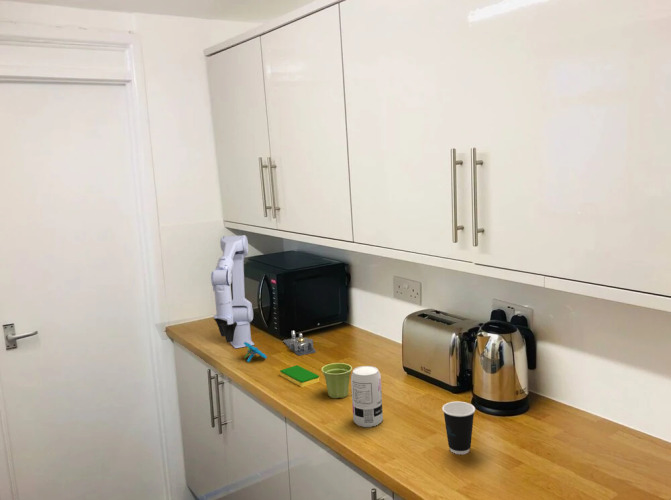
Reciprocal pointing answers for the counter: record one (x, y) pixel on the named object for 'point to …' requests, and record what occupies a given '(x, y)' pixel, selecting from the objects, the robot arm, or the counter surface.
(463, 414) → the dixie cup
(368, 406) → the supplement can
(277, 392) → the counter surface
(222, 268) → the robot arm
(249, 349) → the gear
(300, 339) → the gear board
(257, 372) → the counter surface
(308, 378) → the dish sponge
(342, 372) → the plant pot
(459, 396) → the counter surface
